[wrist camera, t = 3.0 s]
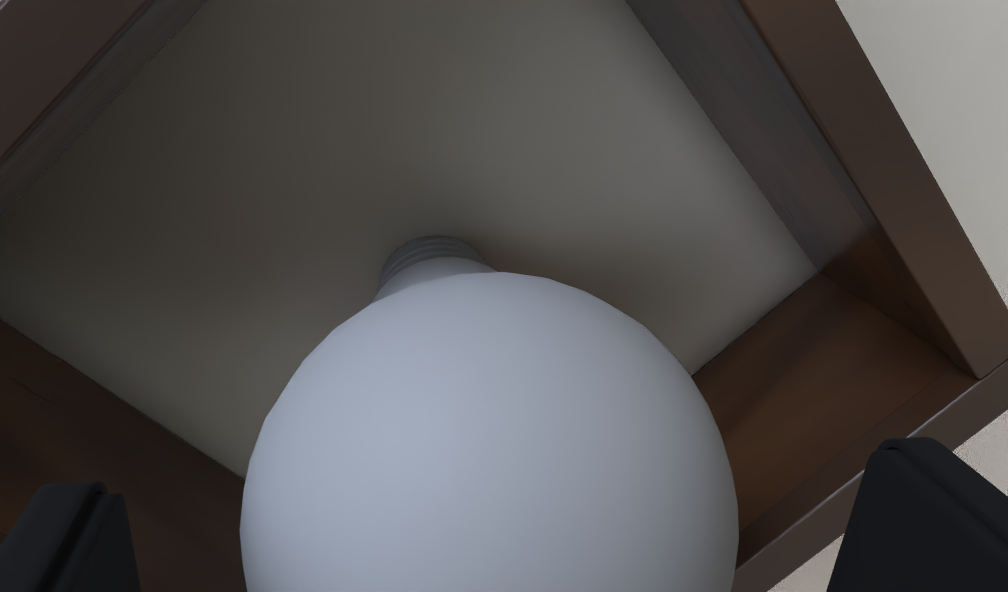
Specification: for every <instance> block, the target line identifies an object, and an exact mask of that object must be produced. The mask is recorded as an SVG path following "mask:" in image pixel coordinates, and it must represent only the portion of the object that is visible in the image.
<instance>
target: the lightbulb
mask: <svg viewBox="0 0 1008 592" xmlns="http://www.w3.org/2000/svg"><path fill="white" fill-rule="evenodd" d="M240 540H241V551H242V562H243V569H244V575H245V581H246V587H247V592H731V589H732V584H733V579H734V573H735V566H736V558H737V550H738V542H739V526H738V503H737V498H736V492H735V487H734V481H733V476H732V470H731V467H730V464H729V460H728V457H727V453H726V450H725V447H724V443H723V440H722V437H721V434H720V432H719V429H718V427H717V425H716V422H715V420H714V418H713V415H712V413H711V411H710V408H709V406H708V404H707V403H706V401H705V399H704V398H703V396H702V394H701V393H700V391H699V390H698V388H697V386H696V385H695V383H694V381H693V380H692V378H691V376H690V375H689V373H688V372H687V371H686V370H685V369H684V367H683V366H682V365H681V364H680V363H679V361H678V360H677V359H676V358H675V357H674V355H673V354H672V353H671V352H670V351H669V350H668V349H667V348H666V347H665V346H664V345H663V344H662V343H661V342H660V341H659V340H658V339H657V338H656V337H655V336H654V335H653V334H652V333H651V332H650V331H649V330H648V329H647V328H646V327H645V326H644V325H642V324H641V323H639V322H637V321H636V320H634V319H632V318H631V317H629V316H628V315H626V314H624V313H623V312H621V311H619V310H618V309H616V308H614V307H613V306H611V305H610V304H608V303H606V302H604V301H602V300H600V299H599V298H597V297H595V296H593V295H591V294H589V293H587V292H586V291H583V290H580V289H577V288H574V287H571V286H569V285H566V284H563V283H560V282H557V281H554V280H551V279H549V278H544V277H537V276H530V275H522V274H515V273H508V272H497V271H495V270H493V269H492V268H490V267H489V266H488V265H487V263H486V262H485V260H484V259H483V258H482V257H481V256H480V255H479V253H478V252H476V251H475V250H474V249H473V248H472V247H471V246H469V245H468V244H466V243H464V242H463V241H460V240H457V239H455V238H452V237H445V236H427V237H423V238H418V239H416V240H413V241H411V242H409V243H406V244H405V245H404V246H402V247H401V248H399V249H398V250H397V251H396V252H395V253H394V254H393V255H392V256H391V257H390V258H389V259H388V261H387V262H386V264H385V265H384V267H383V269H382V272H381V274H380V277H379V282H378V288H377V293H376V297H375V298H374V300H373V301H372V303H371V304H370V305H369V306H367V307H366V308H364V309H363V310H361V311H360V312H358V313H357V314H355V315H354V316H352V317H351V318H350V319H348V320H347V321H345V322H344V323H342V324H341V325H339V326H338V327H336V328H335V329H334V330H333V331H332V332H331V333H330V334H329V335H328V336H327V337H326V338H325V339H324V340H323V341H322V342H321V343H320V344H319V345H318V346H317V347H316V348H315V349H314V350H313V351H312V352H311V353H310V354H309V355H308V356H307V357H306V358H305V359H304V360H303V362H302V363H301V365H300V366H299V368H298V369H297V371H296V372H295V374H294V375H293V377H292V378H291V380H290V381H289V383H288V384H287V386H286V387H285V389H284V390H283V392H282V394H281V395H280V397H279V398H278V400H277V401H276V403H275V404H274V406H273V407H272V409H271V411H270V412H269V414H268V415H267V417H266V418H265V420H264V423H263V426H262V428H261V431H260V434H259V437H258V439H257V442H256V445H255V448H254V450H253V453H252V456H251V459H250V462H249V467H248V472H247V476H246V481H245V485H244V492H243V501H242V511H241V521H240Z"/></svg>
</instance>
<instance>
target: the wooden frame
mask: <svg viewBox="0 0 1008 592" xmlns="http://www.w3.org/2000/svg"><path fill="white" fill-rule="evenodd" d="M206 1H207V0H2V1H1V2H0V218H1V217H2V216H3V215H4V214H5V213H6V212H7V211H8V210H9V209H10V207H11V206H12V205H13V204H14V203H15V202H16V201H17V200H18V199H19V198H20V197H21V196H22V195H23V194H24V193H25V192H26V191H27V190H28V188H29V187H30V186H31V185H32V184H33V183H34V182H35V181H36V180H37V179H38V178H39V177H40V176H41V175H42V174H43V173H44V172H45V171H46V169H47V168H48V167H49V166H50V165H51V164H52V163H53V162H54V161H55V160H56V159H57V158H58V157H59V156H60V155H61V154H62V153H63V152H64V150H65V149H66V148H67V147H68V146H69V145H70V144H71V143H72V142H73V141H74V140H75V139H76V138H77V137H78V136H79V135H80V134H81V133H82V131H83V130H84V129H85V128H86V127H87V126H88V125H89V124H90V123H91V122H92V121H93V120H94V119H95V118H96V117H97V116H98V115H99V113H100V112H101V111H102V110H103V109H104V108H105V107H106V106H107V105H108V104H109V103H110V102H111V101H112V100H113V99H114V98H115V97H116V96H117V94H118V93H119V92H120V91H121V90H122V89H123V88H124V87H125V86H126V85H127V84H128V83H129V82H130V81H131V80H132V79H133V78H134V77H135V75H136V74H137V73H138V72H139V71H140V70H141V69H142V68H143V67H144V66H145V65H146V64H147V63H148V62H149V61H150V60H151V59H152V58H153V56H154V55H155V54H156V53H157V52H158V51H159V50H160V49H161V48H162V47H163V46H164V45H165V44H166V43H167V42H168V41H169V40H170V39H171V37H172V36H173V35H174V34H175V33H176V32H177V31H178V30H179V29H180V28H181V27H182V26H183V25H184V24H185V23H186V22H187V21H188V20H189V18H190V17H191V16H192V15H193V14H194V13H195V12H196V11H197V10H198V9H199V8H200V7H201V6H202V5H203V4H204V3H205V2H206ZM626 2H627V3H628V4H629V6H630V7H631V9H632V10H633V11H634V13H635V14H636V16H637V17H638V18H639V20H640V21H641V23H642V24H643V25H644V27H645V28H646V30H647V31H648V32H649V34H650V35H651V37H652V38H653V39H654V41H655V42H656V44H657V45H658V46H659V48H660V49H661V51H662V52H663V53H664V55H665V56H666V58H667V59H668V61H669V62H670V63H671V65H672V66H673V68H674V69H675V70H676V72H677V73H678V75H679V76H680V77H681V79H682V80H683V82H684V83H685V84H686V86H687V87H688V89H689V90H690V91H691V93H692V94H693V96H694V97H695V98H696V100H697V101H698V103H699V104H700V105H701V107H702V108H703V110H704V111H705V113H706V114H707V115H708V117H709V118H710V120H711V121H712V122H713V124H714V125H715V127H716V128H717V129H718V131H719V132H720V134H721V135H722V136H723V138H724V139H725V141H726V142H727V143H728V145H729V146H730V148H731V149H732V150H733V152H734V153H735V155H736V156H737V157H738V159H739V160H740V162H741V163H742V165H743V166H744V167H745V169H746V170H747V172H748V173H749V174H750V176H751V177H752V179H753V180H754V181H755V183H756V184H757V186H758V187H759V188H760V190H761V191H762V193H763V194H764V195H765V197H766V198H767V200H768V201H769V202H770V204H771V205H772V207H773V208H774V209H775V211H776V212H777V214H778V215H779V216H780V218H781V219H782V221H783V222H784V224H785V225H786V226H787V228H788V229H789V231H790V232H791V233H792V235H793V236H794V238H795V239H796V240H797V242H798V243H799V245H800V246H801V247H802V249H803V250H804V252H805V253H806V254H807V256H808V257H809V259H810V260H811V261H812V263H813V264H814V266H815V267H816V268H817V270H818V271H819V273H817V274H816V275H815V276H814V277H813V278H811V279H810V280H809V281H808V282H807V283H805V284H804V285H803V286H802V287H801V288H799V289H798V290H797V291H796V292H794V293H793V294H792V295H791V296H790V297H788V298H787V299H786V300H785V301H784V302H782V303H781V304H780V305H779V306H778V307H776V308H775V309H774V310H773V311H771V312H770V313H769V314H768V315H767V316H765V317H764V318H763V319H762V320H761V321H759V322H758V323H757V324H756V325H755V326H753V327H752V328H751V329H750V330H749V331H747V332H746V333H745V334H744V335H742V336H741V337H740V338H739V339H738V340H736V341H735V342H734V343H733V344H732V345H730V346H729V347H728V348H727V349H726V350H724V351H723V352H722V353H721V354H719V355H718V356H717V357H716V358H715V359H713V360H712V361H711V362H710V363H709V364H707V365H706V366H705V367H704V368H703V369H701V370H700V371H699V372H698V373H696V374H695V375H694V376H693V377H692V380H693V381H694V383H695V385H696V386H697V388H698V390H699V391H700V393H701V394H702V396H703V398H704V399H705V401H706V403H707V404H708V406H709V408H710V411H711V413H712V415H713V418H714V420H715V422H716V425H717V427H718V429H719V432H720V434H721V437H722V440H723V443H724V447H725V450H726V453H727V457H728V460H729V464H730V467H731V470H732V476H733V481H734V487H735V492H736V498H737V503H738V526H739V542H738V550H737V558H736V566H735V573H734V579H733V584H732V589H731V592H767V591H768V590H770V589H771V588H772V587H774V586H775V585H776V584H778V583H779V582H780V581H782V580H783V579H784V578H786V577H787V576H788V575H790V574H791V573H792V572H794V571H795V570H796V569H798V568H799V567H800V566H802V565H803V564H804V563H805V562H807V561H808V560H809V559H811V558H812V557H813V556H815V555H816V554H817V553H819V552H820V551H821V550H823V549H824V548H825V547H827V546H828V545H829V544H831V543H832V542H833V541H835V540H836V539H837V538H839V537H840V536H841V535H842V534H844V533H845V531H846V527H847V524H848V521H849V518H850V515H851V511H852V508H853V505H854V502H855V499H856V495H857V492H858V489H859V486H860V483H861V480H862V476H863V473H864V470H865V467H866V464H867V460H868V458H869V456H870V455H871V454H872V453H873V452H874V451H876V450H877V448H878V446H879V445H880V444H881V443H882V442H883V441H884V440H887V439H892V438H911V437H929V438H933V439H935V440H937V441H938V442H940V443H941V444H943V445H944V446H945V447H946V448H948V449H949V450H950V451H951V452H952V451H954V450H955V449H956V448H957V447H959V446H960V445H961V444H963V443H964V442H965V441H967V440H968V439H969V438H971V437H972V436H973V435H975V434H976V433H977V432H979V431H980V430H981V429H983V428H984V427H985V426H987V425H988V424H989V423H991V422H992V421H993V420H994V419H996V418H997V417H998V416H1000V415H1001V414H1002V413H1004V412H1005V411H1006V410H1008V309H1007V307H1006V305H1005V303H1004V302H1003V300H1002V298H1001V296H1000V295H999V293H998V291H997V289H996V287H995V286H994V284H993V282H992V280H991V278H990V277H989V275H988V273H987V271H986V269H985V268H984V266H983V264H982V262H981V261H980V259H979V257H978V255H977V253H976V252H975V250H974V248H973V246H972V244H971V243H970V241H969V239H968V237H967V236H966V234H965V232H964V230H963V228H962V227H961V225H960V223H959V221H958V219H957V218H956V216H955V214H954V212H953V210H952V209H951V207H950V205H949V203H948V202H947V200H946V198H945V196H944V194H943V193H942V191H941V189H940V187H939V185H938V184H937V182H936V180H935V178H934V177H933V175H932V173H931V171H930V169H929V168H928V166H927V164H926V162H925V160H924V159H923V157H922V155H921V153H920V151H919V150H918V148H917V146H916V144H915V143H914V141H913V139H912V137H911V135H910V134H909V132H908V130H907V128H906V126H905V125H904V123H903V121H902V119H901V118H900V116H899V114H898V112H897V110H896V109H895V107H894V105H893V103H892V101H891V100H890V98H889V96H888V94H887V92H886V91H885V89H884V87H883V85H882V84H881V82H880V80H879V78H878V76H877V75H876V73H875V71H874V69H873V67H872V66H871V64H870V62H869V60H868V59H867V57H866V55H865V53H864V51H863V50H862V48H861V46H860V44H859V42H858V41H857V39H856V37H855V35H854V33H853V32H852V30H851V28H850V26H849V25H848V23H847V21H846V19H845V17H844V16H843V14H842V12H841V10H840V8H839V7H838V5H837V3H836V1H835V0H626ZM88 481H101V482H103V483H104V484H105V486H106V487H107V491H108V494H113V493H120V494H122V495H123V497H124V499H125V503H126V508H127V513H128V519H129V525H130V530H131V536H132V542H133V547H134V553H135V558H136V564H137V570H138V575H139V581H140V587H141V592H247V587H246V581H245V575H244V569H243V562H242V551H241V540H240V521H241V511H242V501H243V492H244V485H245V482H244V481H243V480H241V479H240V478H238V477H237V476H235V475H234V474H232V473H231V472H229V471H228V470H226V469H225V468H223V467H222V466H220V465H218V464H217V463H215V462H214V461H212V460H211V459H209V458H208V457H206V456H205V455H203V454H202V453H200V452H199V451H197V450H196V449H194V448H193V447H191V446H190V445H188V444H186V443H185V442H183V441H182V440H180V439H179V438H177V437H176V436H174V435H173V434H171V433H170V432H168V431H167V430H165V429H164V428H162V427H161V426H159V425H158V424H156V423H155V422H153V421H151V420H150V419H148V418H147V417H145V416H144V415H142V414H141V413H139V412H138V411H136V410H135V409H133V408H132V407H130V406H129V405H127V404H126V403H124V402H123V401H121V400H120V399H118V398H116V397H115V396H113V395H112V394H110V393H109V392H107V391H106V390H104V389H103V388H101V387H100V386H98V385H97V384H95V383H94V382H92V381H91V380H89V379H88V378H86V377H85V376H83V375H81V374H80V373H78V372H77V371H75V370H74V369H72V368H71V367H69V366H68V365H66V364H65V363H63V362H62V361H60V360H59V359H57V358H56V357H54V356H53V355H51V354H49V353H48V352H46V351H45V350H43V349H42V348H40V347H39V346H37V345H36V344H34V343H33V342H31V341H30V340H28V339H27V338H25V337H24V336H22V335H21V334H19V333H18V332H16V331H14V330H13V329H11V328H10V327H8V326H7V325H5V324H4V323H2V322H1V321H0V545H1V544H2V542H3V541H4V539H5V538H6V536H7V535H8V533H9V532H10V530H11V529H12V527H13V525H14V524H15V522H16V521H17V519H18V518H19V516H20V515H21V513H22V512H23V510H24V509H25V507H26V506H27V504H28V502H29V501H30V499H31V498H32V496H33V495H34V493H35V492H36V491H37V490H38V488H39V487H40V486H42V485H44V484H50V483H69V482H88Z"/></svg>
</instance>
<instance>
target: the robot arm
mask: <svg viewBox="0 0 1008 592" xmlns="http://www.w3.org/2000/svg"><path fill="white" fill-rule="evenodd" d="M0 592H141V587H140V581H139V575H138V570H137V564H136V558H135V553H134V547H133V542H132V536H131V530H130V525H129V519H128V513H127V508H126V503H125V499H124V497H123V495H122V494H120V493H113V494H108V491H107V487H106V486H105V484H104V483H103V482H101V481H88V482H69V483H50V484H44V485H42V486H40V487H39V488H38V490H37V491H36V492H35V493H34V495H33V496H32V498H31V499H30V501H29V502H28V504H27V506H26V507H25V509H24V510H23V512H22V513H21V515H20V516H19V518H18V519H17V521H16V522H15V524H14V525H13V527H12V529H11V530H10V532H9V533H8V535H7V536H6V538H5V539H4V541H3V542H2V544H1V545H0ZM826 592H1008V497H1007V496H1006V495H1005V494H1004V493H1002V492H1001V491H1000V490H999V489H997V488H996V487H995V486H994V485H992V484H991V483H990V482H989V481H987V480H986V479H985V478H984V477H982V476H981V475H980V474H979V473H977V472H976V471H975V470H974V469H973V468H971V467H970V466H969V465H968V464H966V463H965V462H964V461H963V460H961V459H960V458H959V457H958V456H956V455H955V454H954V453H953V452H951V451H950V450H949V449H948V448H946V447H945V446H944V445H943V444H941V443H940V442H938V441H937V440H935V439H933V438H929V437H911V438H892V439H887V440H884V441H883V442H882V443H881V444H880V445H879V446H878V448H877V450H876V451H874V452H873V453H872V454H871V455H870V456H869V458H868V460H867V464H866V467H865V470H864V473H863V476H862V480H861V483H860V486H859V489H858V492H857V495H856V499H855V502H854V505H853V508H852V511H851V515H850V518H849V521H848V524H847V527H846V531H845V534H844V537H843V540H842V543H841V547H840V550H839V553H838V556H837V559H836V562H835V566H834V569H833V572H832V575H831V578H830V582H829V585H828V588H827V591H826Z"/></svg>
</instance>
